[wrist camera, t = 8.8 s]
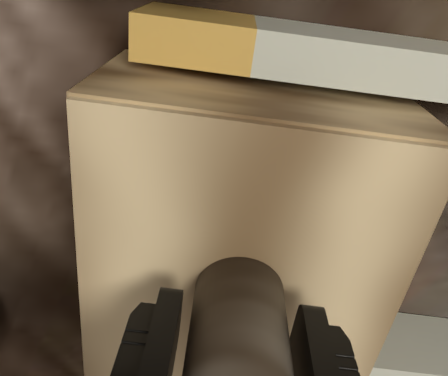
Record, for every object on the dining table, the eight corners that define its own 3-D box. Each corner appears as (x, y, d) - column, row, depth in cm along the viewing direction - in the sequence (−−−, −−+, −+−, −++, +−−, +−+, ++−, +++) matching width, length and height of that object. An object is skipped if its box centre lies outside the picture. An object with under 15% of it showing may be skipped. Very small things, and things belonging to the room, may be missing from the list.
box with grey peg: (125, 273, 23) (-33, 691, 10) (127, 47, 17) (-262, 329, 4) (323, 297, 23) (429, 736, 10) (392, 83, 17) (861, 459, 4)
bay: (143, 301, 24) (114, 396, 19) (153, 1, 16) (110, 19, 11) (546, 349, 24) (630, 456, 19) (741, 81, 17) (970, 135, 11)
